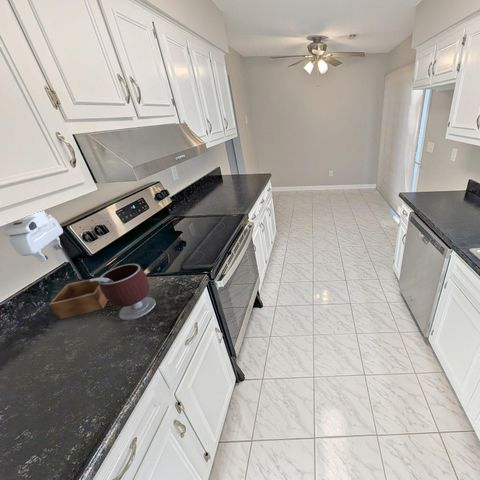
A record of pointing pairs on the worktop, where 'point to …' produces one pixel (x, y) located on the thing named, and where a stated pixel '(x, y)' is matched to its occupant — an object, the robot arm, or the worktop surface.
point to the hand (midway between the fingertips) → (51, 254)
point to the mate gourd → (127, 290)
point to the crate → (78, 299)
